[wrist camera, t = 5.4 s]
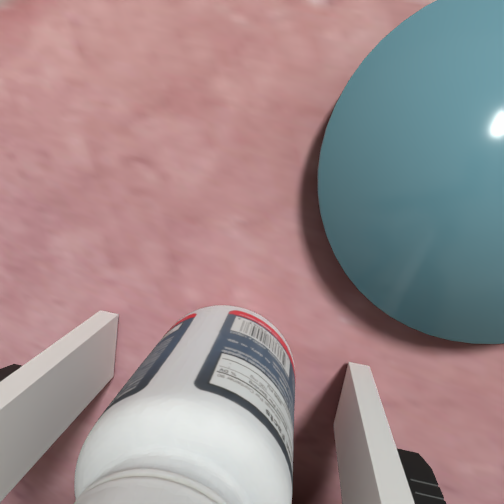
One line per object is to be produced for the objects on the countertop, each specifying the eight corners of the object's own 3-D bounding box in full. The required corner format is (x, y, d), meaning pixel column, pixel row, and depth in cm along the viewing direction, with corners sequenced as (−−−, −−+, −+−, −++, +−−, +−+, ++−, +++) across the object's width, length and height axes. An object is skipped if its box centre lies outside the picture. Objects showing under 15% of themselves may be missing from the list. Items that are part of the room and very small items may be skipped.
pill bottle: (174, 427, 16) (23, 732, 7) (151, 307, 15) (-55, 499, 6) (303, 423, 15) (302, 760, 7) (289, 296, 14) (265, 499, 6)
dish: (561, -92, 11) (592, -124, 10) (733, 216, 12) (779, 222, 11) (256, 140, 13) (251, 137, 12) (421, 379, 14) (432, 399, 13)
